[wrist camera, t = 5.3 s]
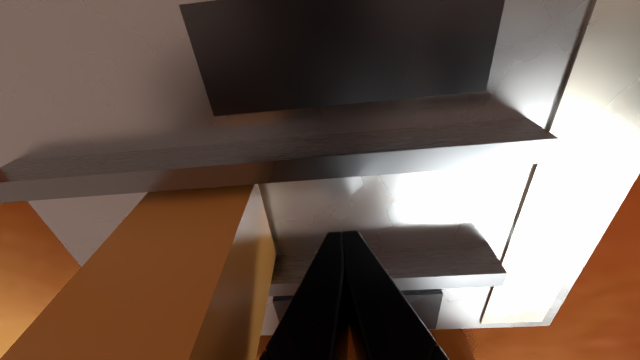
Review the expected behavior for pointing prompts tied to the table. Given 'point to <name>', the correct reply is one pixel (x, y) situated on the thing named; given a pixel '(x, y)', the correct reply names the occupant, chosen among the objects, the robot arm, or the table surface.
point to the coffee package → (447, 339)
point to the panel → (340, 132)
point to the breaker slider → (166, 284)
